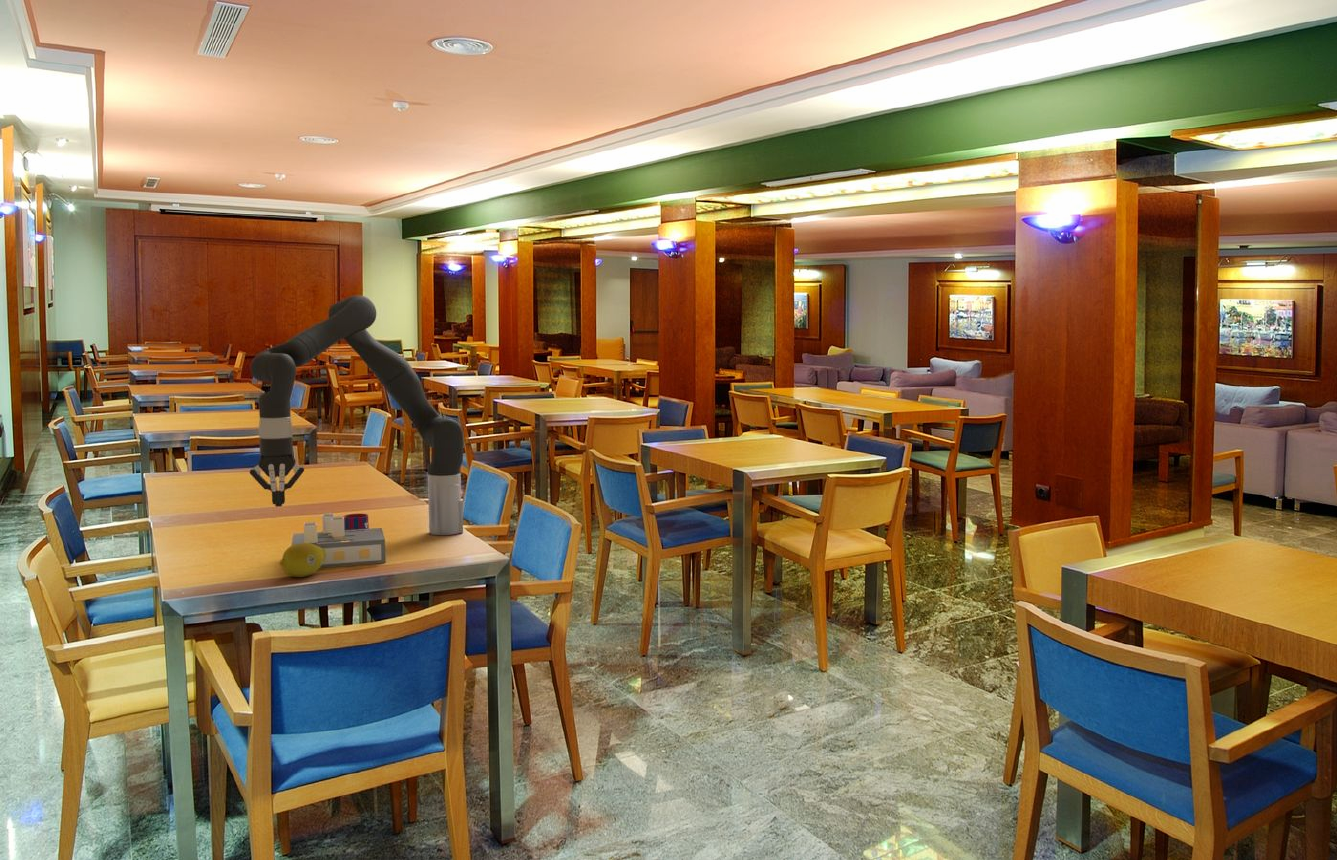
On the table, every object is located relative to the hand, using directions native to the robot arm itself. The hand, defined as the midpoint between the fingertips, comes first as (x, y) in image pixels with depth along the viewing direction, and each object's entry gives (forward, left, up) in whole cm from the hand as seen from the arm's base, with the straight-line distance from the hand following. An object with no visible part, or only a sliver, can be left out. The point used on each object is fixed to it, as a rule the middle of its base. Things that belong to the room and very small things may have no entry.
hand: (278, 506), depth 238 cm
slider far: (-11, -11, -10) cm, 18 cm away
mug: (-17, -30, -16) cm, 38 cm away
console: (-14, -6, -16) cm, 21 cm away
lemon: (-5, +9, -16) cm, 19 cm away
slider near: (-7, 0, -10) cm, 12 cm away
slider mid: (-14, -6, -10) cm, 18 cm away
